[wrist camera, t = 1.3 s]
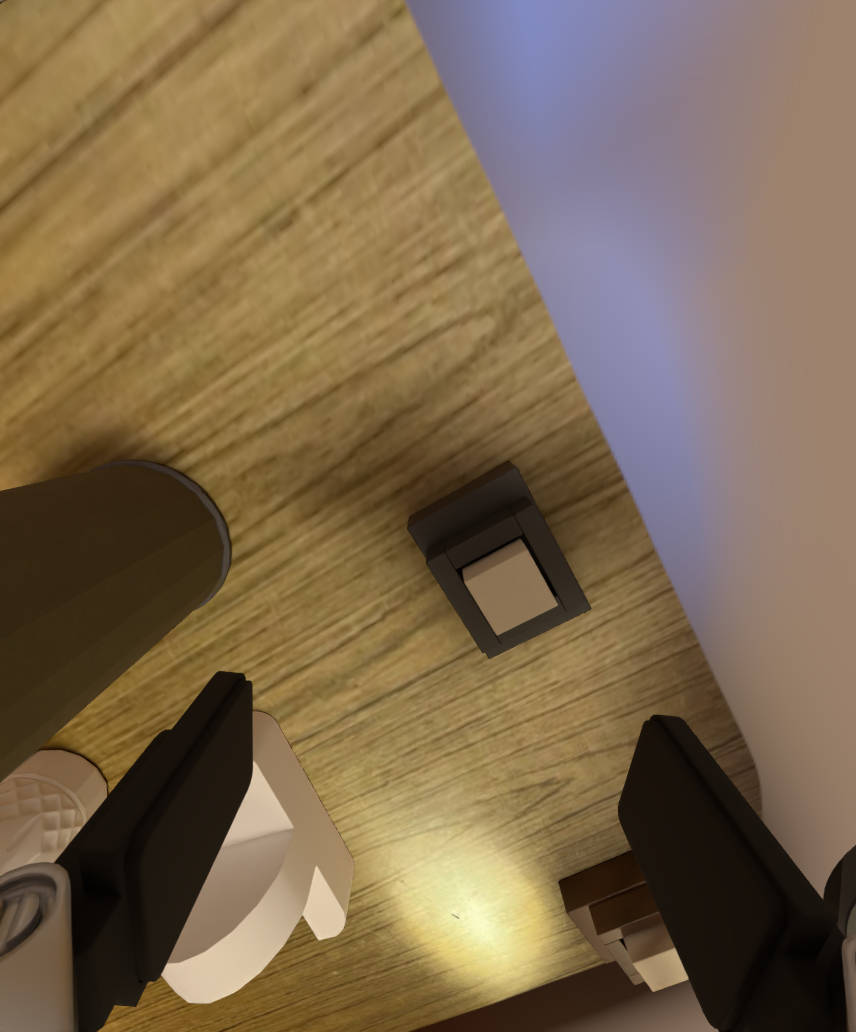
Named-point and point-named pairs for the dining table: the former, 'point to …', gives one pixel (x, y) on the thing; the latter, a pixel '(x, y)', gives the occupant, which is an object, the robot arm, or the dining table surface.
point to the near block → (483, 530)
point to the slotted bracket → (263, 878)
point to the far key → (655, 957)
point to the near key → (508, 587)
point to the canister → (94, 587)
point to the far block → (611, 908)
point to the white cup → (46, 806)
